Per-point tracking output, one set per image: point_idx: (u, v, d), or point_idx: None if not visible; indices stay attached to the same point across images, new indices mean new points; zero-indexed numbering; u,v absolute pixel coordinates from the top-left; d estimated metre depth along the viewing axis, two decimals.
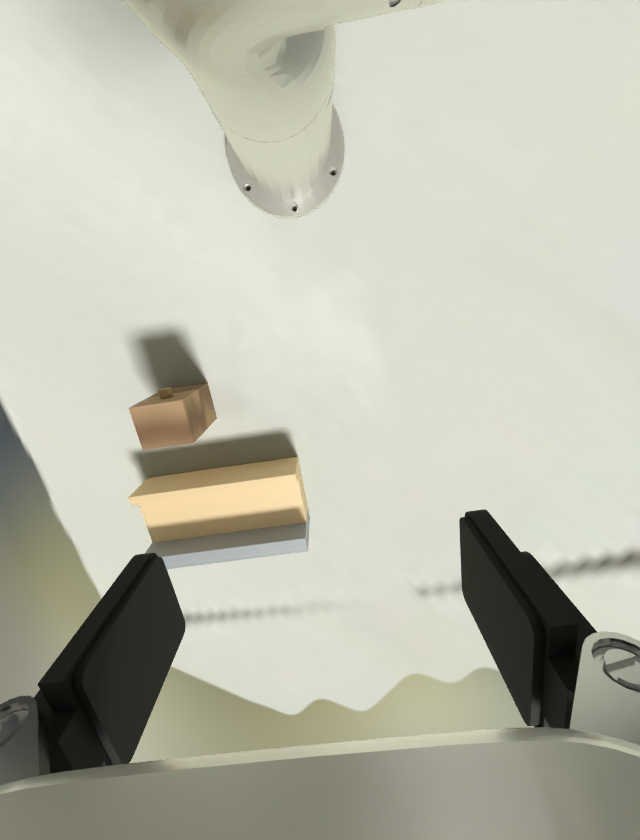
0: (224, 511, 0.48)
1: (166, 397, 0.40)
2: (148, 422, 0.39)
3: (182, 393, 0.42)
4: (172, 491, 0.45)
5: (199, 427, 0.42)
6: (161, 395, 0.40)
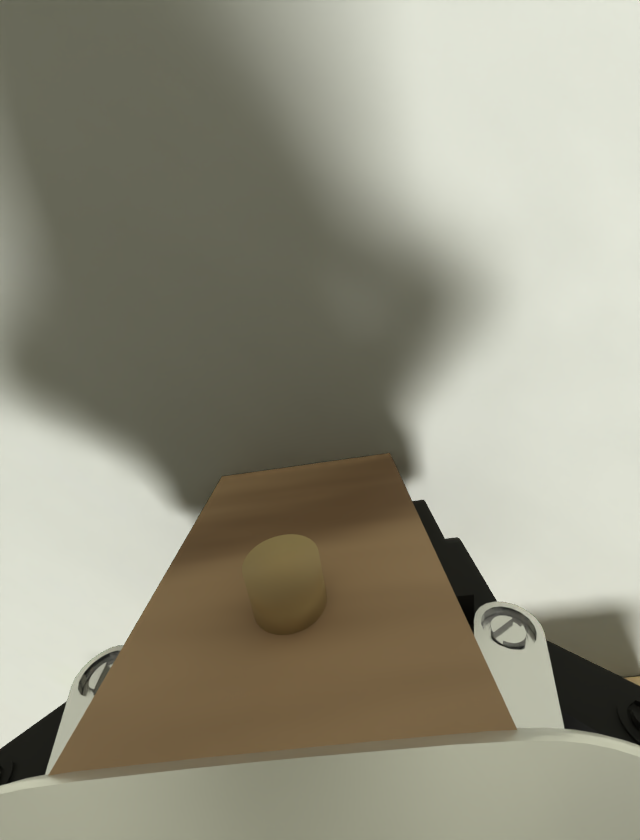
0: None
1: (302, 627, 0.06)
2: None
3: (365, 560, 0.07)
4: None
5: None
6: (268, 614, 0.06)
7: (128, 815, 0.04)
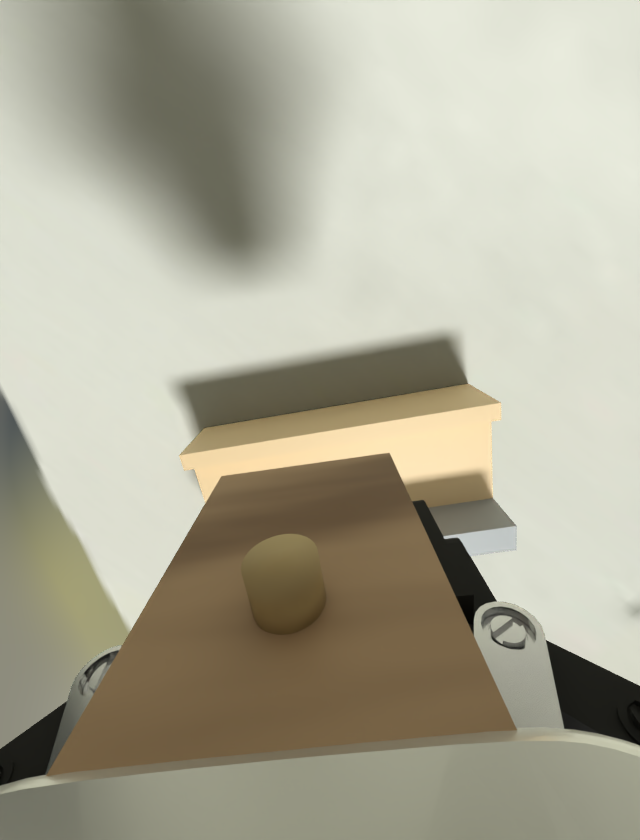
0: None
1: (301, 627, 0.06)
2: None
3: (365, 559, 0.07)
4: (261, 442, 0.24)
5: None
6: (267, 614, 0.06)
7: (128, 815, 0.04)
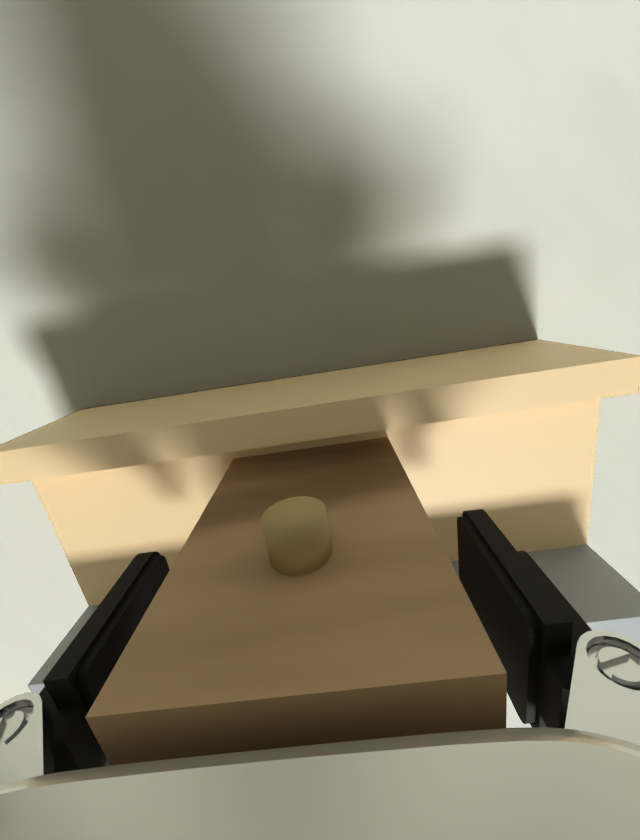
0: None
1: (312, 569, 0.07)
2: None
3: (365, 520, 0.09)
4: (142, 431, 0.12)
5: None
6: (284, 558, 0.07)
7: (128, 815, 0.04)
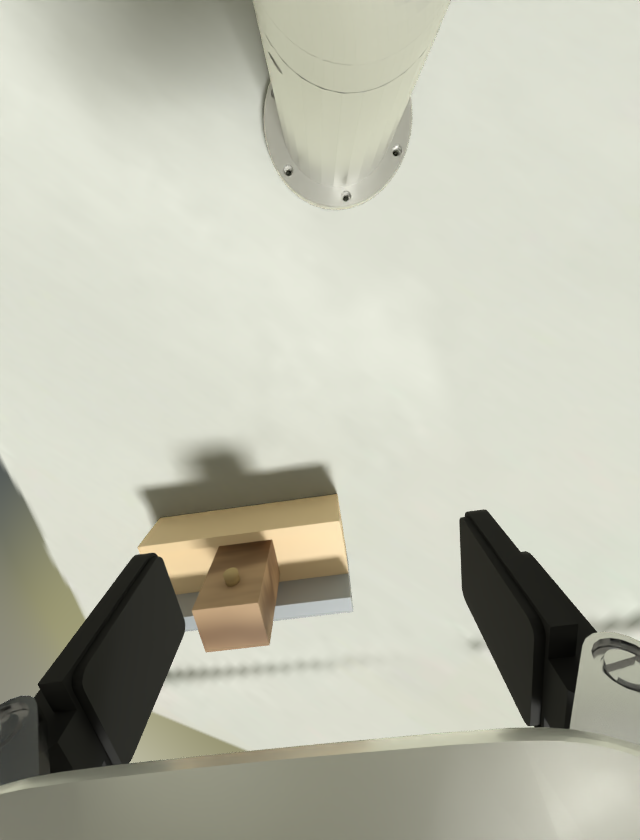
0: None
1: (233, 585, 0.33)
2: (214, 624, 0.31)
3: (250, 572, 0.34)
4: (190, 540, 0.38)
5: (271, 614, 0.34)
6: (227, 583, 0.33)
7: (128, 815, 0.04)
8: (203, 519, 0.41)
